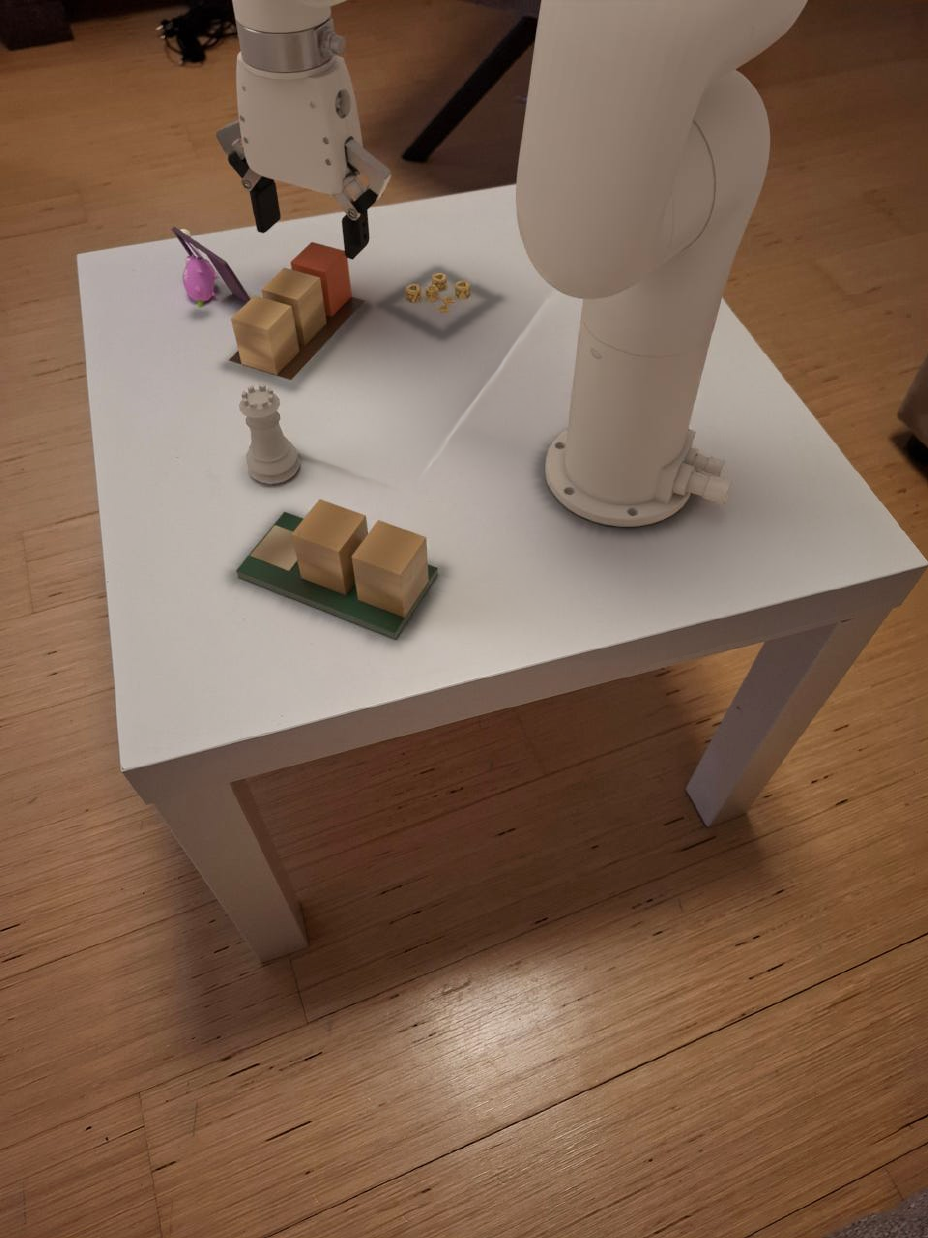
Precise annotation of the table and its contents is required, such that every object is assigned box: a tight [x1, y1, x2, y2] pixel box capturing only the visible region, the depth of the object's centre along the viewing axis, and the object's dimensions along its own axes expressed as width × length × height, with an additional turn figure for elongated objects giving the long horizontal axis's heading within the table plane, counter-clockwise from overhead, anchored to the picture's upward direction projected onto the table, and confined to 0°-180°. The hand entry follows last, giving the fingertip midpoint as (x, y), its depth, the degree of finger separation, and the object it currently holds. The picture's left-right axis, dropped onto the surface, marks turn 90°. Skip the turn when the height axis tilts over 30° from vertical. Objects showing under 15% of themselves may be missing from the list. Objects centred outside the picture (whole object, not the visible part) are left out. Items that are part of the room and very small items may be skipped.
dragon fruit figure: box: [170, 226, 252, 309], centre depth 91 cm, size 7×5×9 cm
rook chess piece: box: [238, 383, 301, 486], centre depth 75 cm, size 4×4×8 cm
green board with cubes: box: [235, 498, 439, 640], centre depth 69 cm, size 14×7×6 cm, turn 64°
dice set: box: [405, 272, 471, 314], centre depth 92 cm, size 5×5×2 cm
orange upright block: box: [289, 241, 353, 317], centre depth 90 cm, size 4×4×5 cm
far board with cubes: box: [228, 267, 365, 381], centre depth 87 cm, size 7×14×6 cm, turn 154°
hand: (312, 238), depth 87 cm, fingers open, 9 cm apart
